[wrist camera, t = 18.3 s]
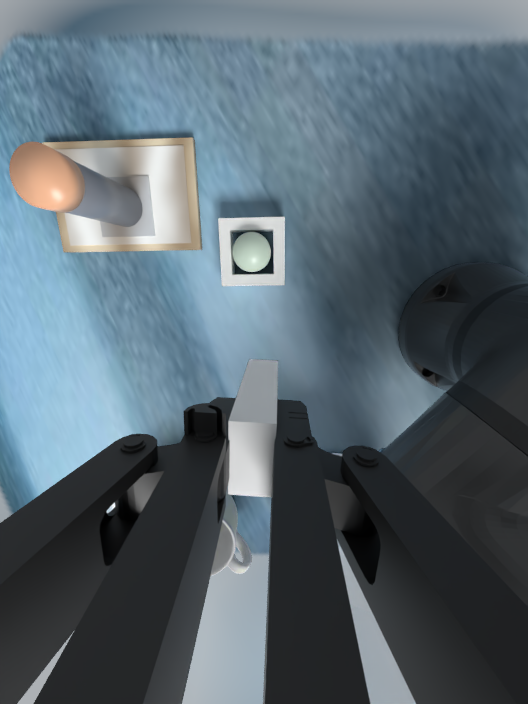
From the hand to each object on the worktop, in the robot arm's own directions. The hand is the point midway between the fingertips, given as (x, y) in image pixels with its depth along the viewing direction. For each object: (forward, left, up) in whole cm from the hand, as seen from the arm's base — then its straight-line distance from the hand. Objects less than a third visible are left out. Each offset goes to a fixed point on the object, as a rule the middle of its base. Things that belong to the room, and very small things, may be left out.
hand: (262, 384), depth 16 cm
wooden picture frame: (+16, -13, -22) cm, 30 cm away
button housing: (+2, -7, -22) cm, 23 cm away
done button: (+2, -7, -22) cm, 23 cm away
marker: (+16, -12, -21) cm, 29 cm away
